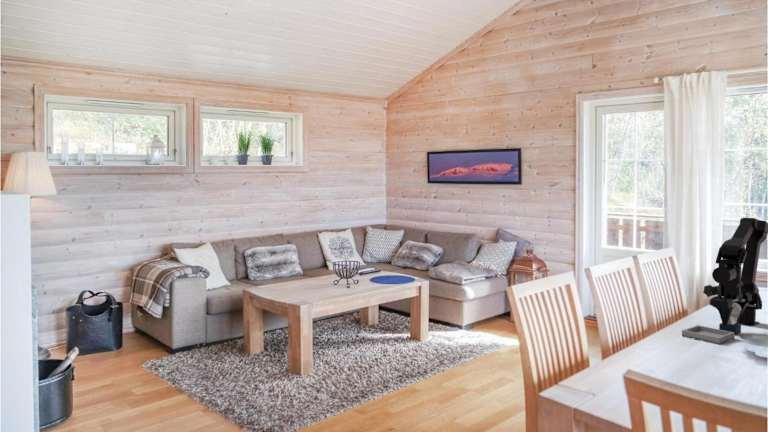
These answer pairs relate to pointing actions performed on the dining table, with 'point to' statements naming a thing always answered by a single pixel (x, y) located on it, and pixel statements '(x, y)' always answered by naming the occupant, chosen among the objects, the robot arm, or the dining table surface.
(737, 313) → the watch
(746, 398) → the dining table surface
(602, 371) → the dining table surface
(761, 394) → the dining table surface
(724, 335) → the tray
